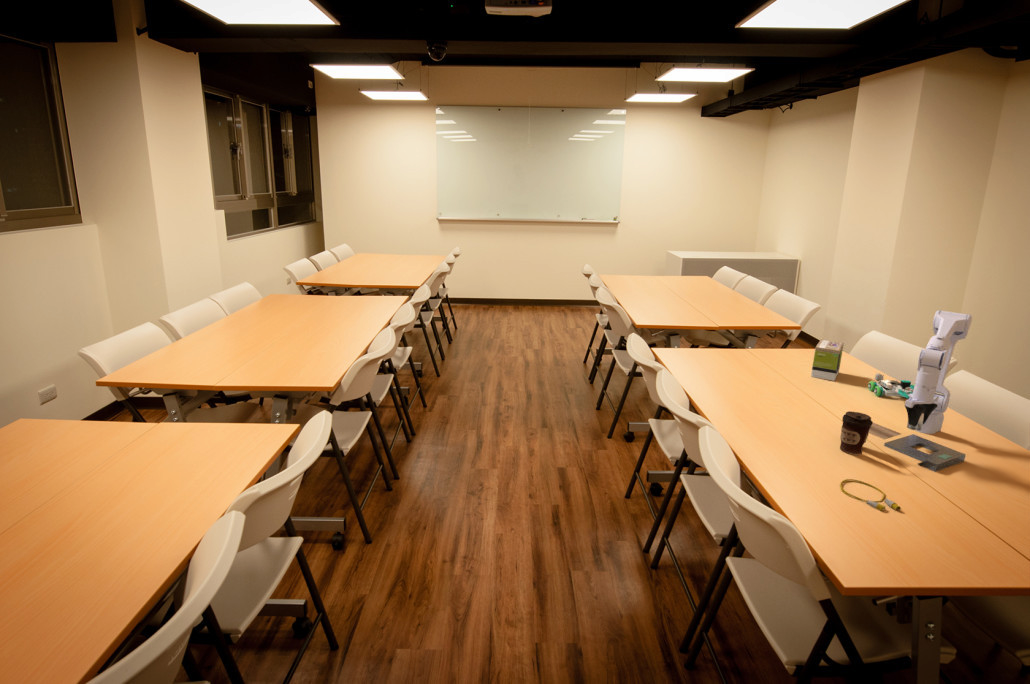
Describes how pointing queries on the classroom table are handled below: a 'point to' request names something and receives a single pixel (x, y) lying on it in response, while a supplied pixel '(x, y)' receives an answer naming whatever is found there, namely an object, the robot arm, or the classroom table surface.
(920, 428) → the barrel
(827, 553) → the classroom table surface
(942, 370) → the robot arm
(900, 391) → the robot kit
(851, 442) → the coffee cup
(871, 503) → the yellow looped cable
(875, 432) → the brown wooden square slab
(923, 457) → the plate
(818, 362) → the tea box
